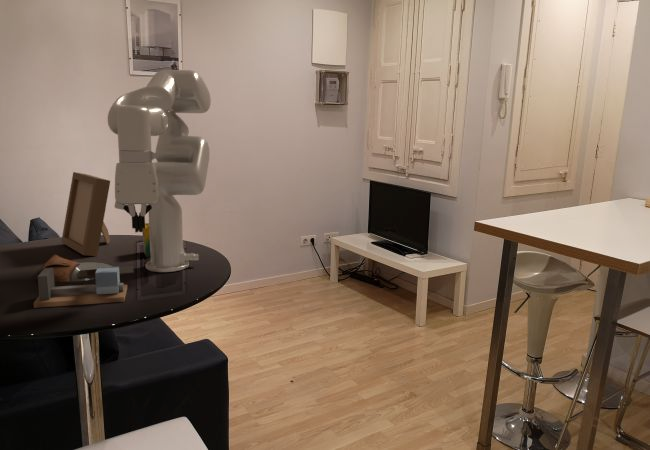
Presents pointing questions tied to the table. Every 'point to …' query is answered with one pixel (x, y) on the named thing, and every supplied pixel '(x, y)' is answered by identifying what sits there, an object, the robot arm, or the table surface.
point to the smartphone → (91, 273)
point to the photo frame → (86, 214)
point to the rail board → (80, 296)
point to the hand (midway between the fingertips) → (138, 231)
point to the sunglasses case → (60, 268)
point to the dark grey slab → (46, 283)
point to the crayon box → (146, 240)
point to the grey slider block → (107, 280)
